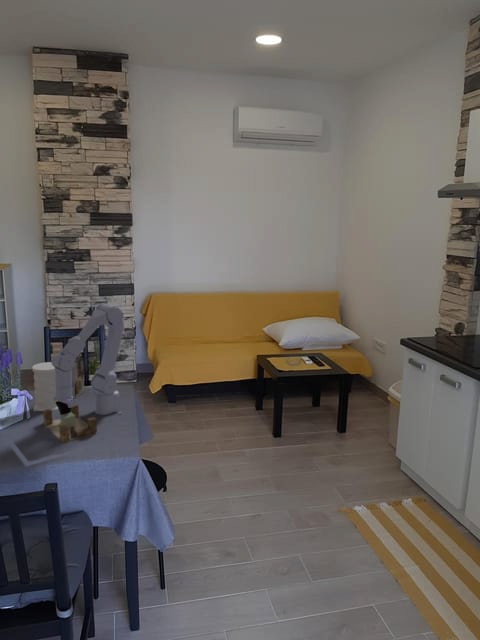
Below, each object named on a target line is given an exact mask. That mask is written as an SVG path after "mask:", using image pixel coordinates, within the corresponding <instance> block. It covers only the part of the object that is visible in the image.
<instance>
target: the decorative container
mask: <svg viewBox="0 0 480 640" xmlns="http://www.w3.org/2000/svg"><path fill="white" fill-rule="evenodd" d="M31 370H32V372H33V373H34V374H33V380H34V382H33V386H34V392H33V393H34V395H35V397H34V402H35V404H34V405H33V407H32V408H33V409H32V410H33V412H43V410H47V409H50V410H51V411H52V412H53V411H55V410H56V411H57V410H59V409H58V407H57V405H56V403H55V402H57V401H54V400H53V398H55V397H56V396H55V391H56V382H55V367H54V366H53V365H52V363H51V361H47V362H46V361H45V362H39V363H36V364H34V365H32V366H31Z"/></svg>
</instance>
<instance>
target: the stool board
mask: <svg viewBox="0 0 480 640" xmlns="http://www.w3.org/2000/svg"><path fill="white" fill-rule="evenodd" d="M42 412H43V414H42V415H43V423H42V424H43V425H44V426H45V427H46V428H47V429H48V430H49V431H50V432H51V433H52V434H53V435H54V436H55V438H57V439H58V440H59V442H61V443H65V442H69V441H73V440H77V439H81V438H85V437H88V436H89V437H90V436H92V435H97V434H98V431H97V432H95V433H91V434H87V435H83V436H79V437H77V436H76V435H75V430H79V429H83V428H87V427H88V422H87V423H86V422H85V421H84V420H83V418H81V417H80V416H79V412H80V411H79V404H77V403H74V407H72V408H71V411H70V413H71V412H72V413H73V414H74V415H75V416H76V426H71V427H70V428H69V426H68V425H67V424H65V425H61V418H58V419H55V420H53V410H52V411H51V410H50V409H47V410H43V411H42Z"/></svg>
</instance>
